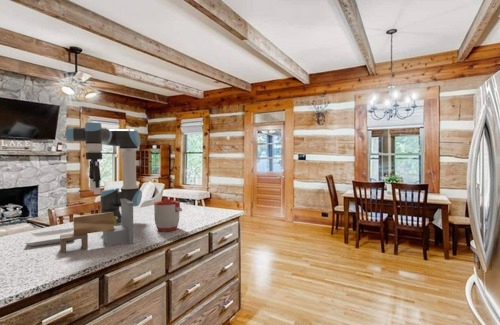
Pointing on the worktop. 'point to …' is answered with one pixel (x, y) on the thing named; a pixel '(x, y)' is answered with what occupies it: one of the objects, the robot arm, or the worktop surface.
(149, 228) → the worktop surface
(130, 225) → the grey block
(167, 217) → the citrus juicer
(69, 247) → the worktop surface
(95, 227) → the wooden board
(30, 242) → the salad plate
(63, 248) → the trestle
